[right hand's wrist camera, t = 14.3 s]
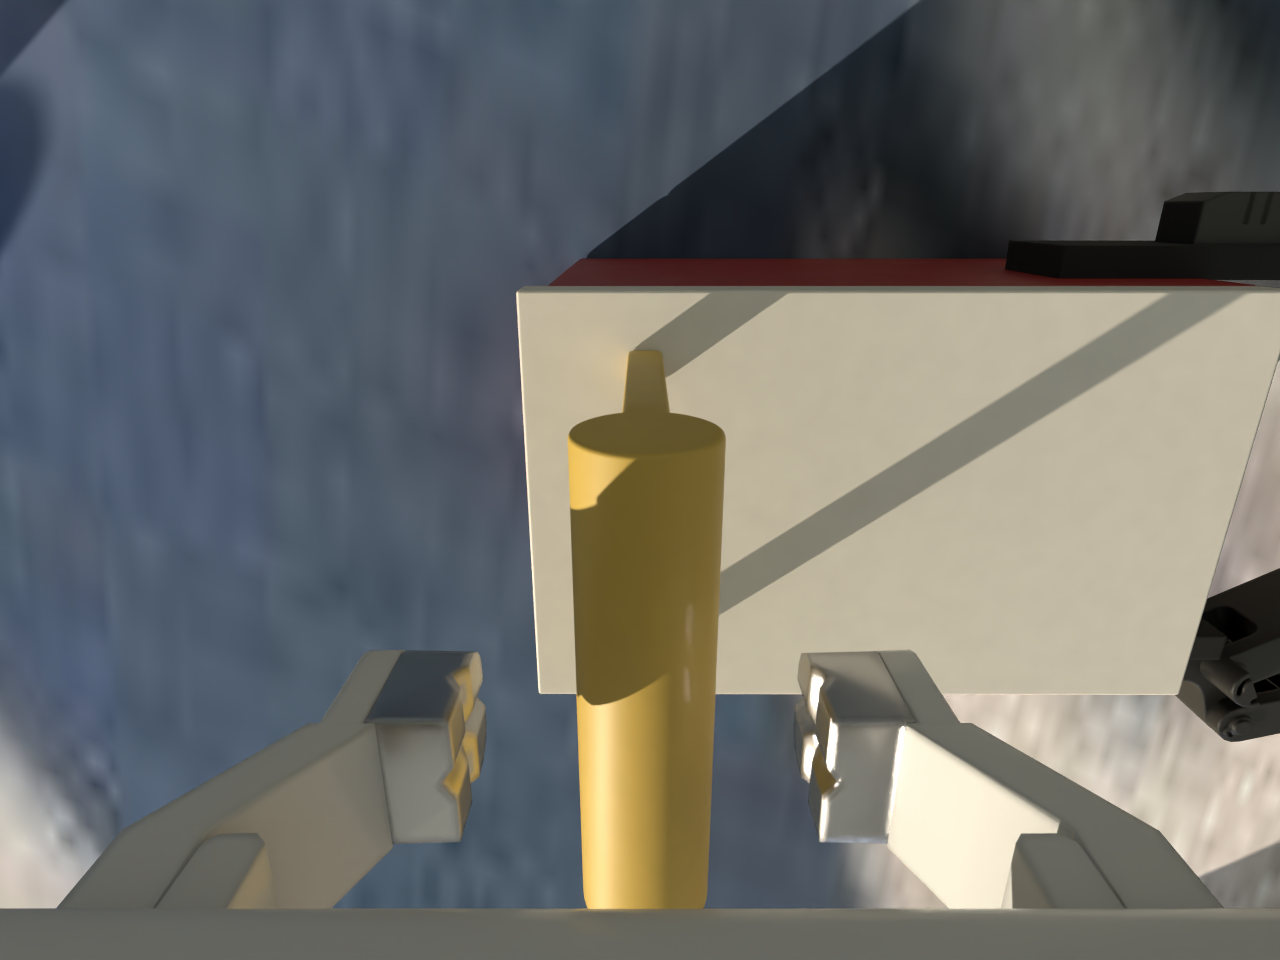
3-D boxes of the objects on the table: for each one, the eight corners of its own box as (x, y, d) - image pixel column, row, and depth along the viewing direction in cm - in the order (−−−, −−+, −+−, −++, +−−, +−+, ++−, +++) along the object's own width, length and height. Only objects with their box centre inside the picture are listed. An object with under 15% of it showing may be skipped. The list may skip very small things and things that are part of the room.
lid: (543, 672, 19) (474, 995, 11) (522, 286, 16) (404, 361, 8) (1154, 673, 19) (1511, 998, 11) (1264, 286, 16) (1881, 363, 8)
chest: (586, 528, 27) (561, 671, 19) (579, 258, 24) (545, 285, 16) (995, 528, 27) (1153, 672, 19) (1044, 258, 24) (1262, 285, 16)
